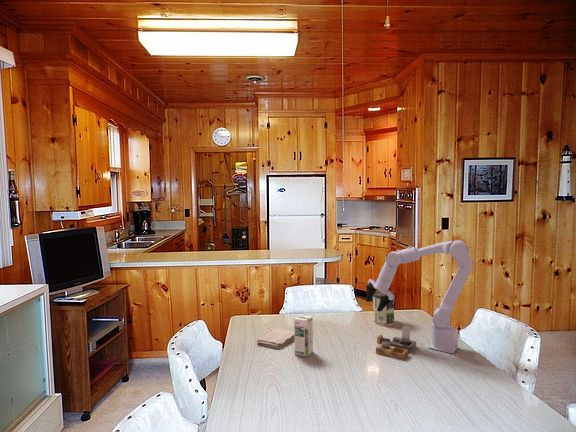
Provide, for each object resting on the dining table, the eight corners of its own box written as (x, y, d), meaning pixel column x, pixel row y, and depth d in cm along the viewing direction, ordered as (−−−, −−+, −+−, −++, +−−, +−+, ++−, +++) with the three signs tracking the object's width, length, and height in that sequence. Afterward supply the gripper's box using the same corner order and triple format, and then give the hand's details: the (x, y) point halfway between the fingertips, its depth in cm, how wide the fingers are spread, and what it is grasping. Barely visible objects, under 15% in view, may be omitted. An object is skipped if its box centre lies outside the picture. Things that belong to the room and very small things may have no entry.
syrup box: (294, 354, 150) (293, 318, 150) (300, 349, 156) (300, 314, 155) (307, 357, 148) (306, 320, 147) (313, 351, 153) (313, 316, 152)
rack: (408, 355, 148) (408, 345, 148) (403, 360, 144) (403, 349, 144) (381, 349, 154) (381, 339, 154) (375, 353, 151) (375, 343, 150)
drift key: (390, 343, 161) (390, 337, 160) (387, 345, 158) (387, 339, 158) (380, 340, 163) (380, 334, 163) (377, 343, 161) (377, 337, 161)
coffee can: (391, 318, 192) (391, 291, 192) (396, 325, 182) (396, 296, 181) (370, 319, 193) (370, 291, 192) (375, 325, 182) (374, 296, 182)
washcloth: (255, 346, 161) (255, 338, 161) (277, 332, 177) (277, 326, 177) (279, 351, 155) (279, 343, 155) (300, 336, 171) (300, 329, 171)
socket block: (416, 346, 156) (416, 341, 156) (409, 353, 150) (409, 347, 150) (395, 341, 162) (395, 336, 162) (387, 348, 156) (387, 342, 155)
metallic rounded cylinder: (410, 348, 155) (410, 326, 155) (408, 350, 153) (408, 328, 152) (403, 346, 157) (403, 324, 157) (400, 348, 155) (400, 326, 154)
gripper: (367, 269, 166) (356, 296, 169) (390, 285, 155) (378, 315, 157) (379, 270, 170) (367, 297, 173) (402, 287, 159) (389, 315, 161)
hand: (373, 306), depth 166 cm, fingers open, 7 cm apart
